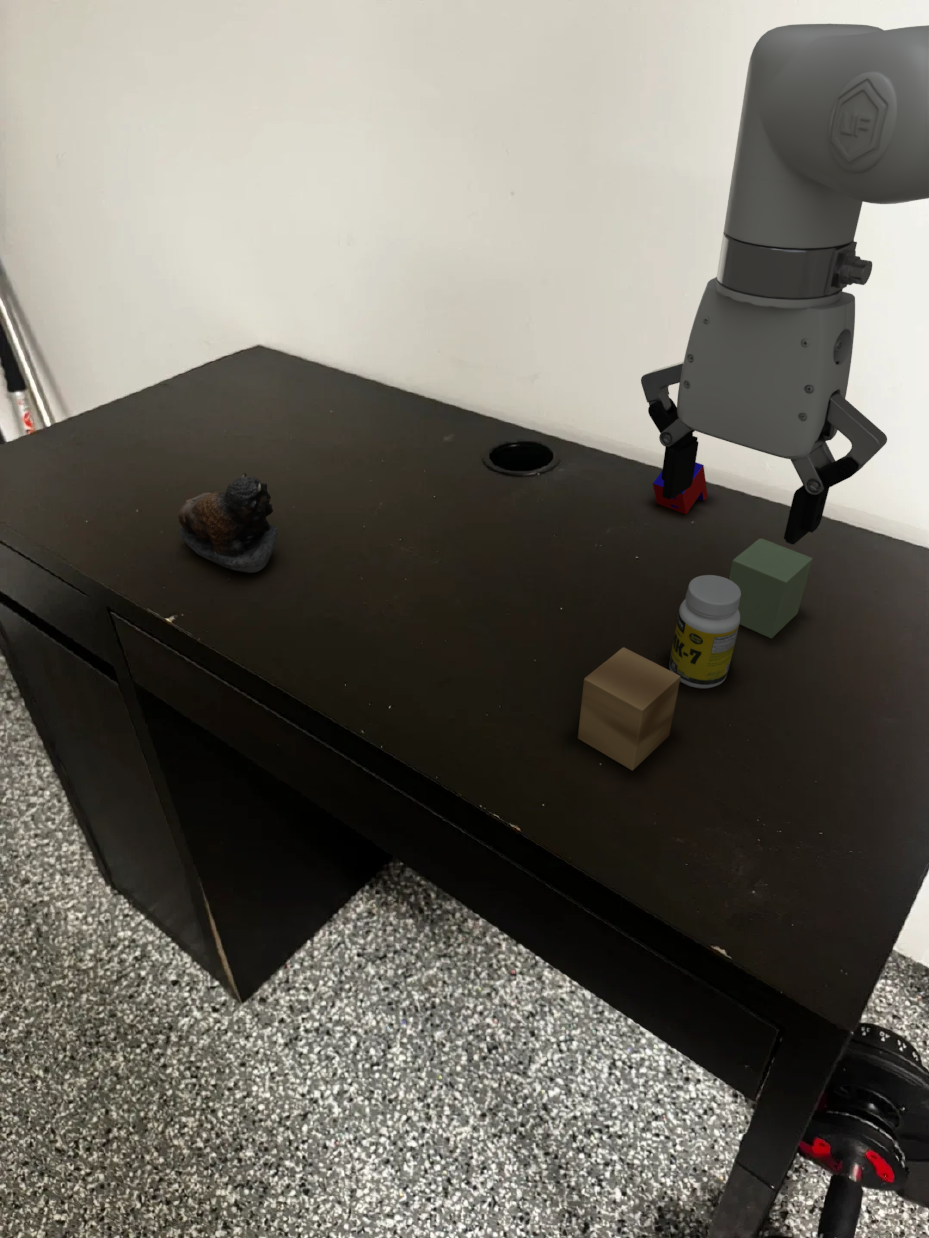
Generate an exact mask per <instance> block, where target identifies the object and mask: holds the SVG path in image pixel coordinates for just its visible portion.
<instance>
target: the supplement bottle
mask: <svg viewBox="0 0 929 1238" xmlns="http://www.w3.org/2000/svg"><path fill="white" fill-rule="evenodd" d="M687 586H688V587H687V590H686V593H685V598H684V600H683V601H682V602H681V603H680V605H679V609H678V612H677V617H676V624H675V629H674V635H673V640H672V645H671V652H670V657H669V663H668V666H669V667H668V668H669V670H670V671H672V672H674V673H676V674H678V675H679V676H680V682H679V683H682V684H684V685H686V686H688V687H690V688H694V689H695V688H696V689H711V688H715V687H717V686H719V685H721V684H722V683H723V682H725V680H726V679H727V675H728V673H729V670H730V664H731V661H732V657H733V653H734V649H735V644H736V640H737V635H738V631H739V628H740V613H739V610H738V607H739V602H740V597H741V591H740V588H739V587H738V586H737V585H736V584H735V583H734V582H733V581H731V580H729V578H727V577H724V576H720V575H716V574H715V575H714V574H703V575H699V576H696V577H694V578H693V579H691V580H690V582H689V584H688V585H687Z"/></svg>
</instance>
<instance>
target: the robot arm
mask: <svg viewBox="0 0 929 1238" xmlns="http://www.w3.org/2000/svg"><path fill="white" fill-rule="evenodd" d="M729 185H730V186H729V191H728V200H727V206H726V213H725V220H724V227H723V232H722V239H721V244H720V252H719V258H718V266H717V272H716V276H715V277H713V278H711V279H709V280H708V281H707V283H706V286H705V288H704V291H703V293H702V295H701V299H700V301H699V304H698V307H697V310H696V313H695V316H694V320H693V323H692V326H691V330H690V334H689V337H688V341H687V345H686V349H685V354H684V357H683V361H681V362H676V363H674V364H670V365H666V366H664V367H660V368H655V369H653V370H651V371H649V372H647V373H645V374H643V375H642V376H641V378H640V383H641V388H642V390H643V394H644V397H645V400H646V403H647V404H648V407H647V412H648V415H649V417H650V419H651V420H652V422H653V424H654V425H655V427H656V429H657V430H658V431H659V433H660V434H659V436H658V438H659V442H660V444H661V445H662V446H663V447H664V455H663V463H662V470H661V471H662V480H664V486H663V493H662V496H663V497H664V498H666V499H669V500H670V499H671V498H672V499H673V498H675V497H676V496H678V495H679V494H681V493H682V492H684V491H685V490H687V489H688V488H690V487H691V485H692V482H693V476H694V469H695V463H697V456H698V449H699V441H698V440H699V439H698V436H695V435H694V433H695V432H698V433H700V434H703V435H706V436H710V437H713V438H716V439H719V440H723V441H724V442H729V443H732V444H733V445H734V444H735V445H738V446H741V447H744V448H747V449H750V450H754V451H757V452H761V453H764V454H767V455H771V456H774V457H778V458H781V459H786V460H790V462H791V464H792V465H793V468H794V470H795V472H796V473H797V476H798V477H799V479H800V482H801V483H802V485H801V486H800V487H798V488H797V489H796V490H795V491H794V493H793V496H792V501H791V505H790V509H789V513H788V518H787V522H786V527H785V531H784V535H783V540H785V543H787V544H790V545H792V546H794V545H795V544H797V543H798V542H799V541H800V540H801V539H803V538H804V537H805V536H806V535H807V534H809V533H814V532H815V531H817V529H818V528H819V526H820V524H821V522H822V517H823V515H824V510H825V507H826V502H827V500H828V499H827V498H828V495H829V491H830V488H832V487H834V486H836V485H838V484H840V483H842V482H844V481H845V480H848V479H850V478H852V477H853V476H854V475H855V474H856V473H858V472H859V471H860V470H861V469H863V467H864V466H865V465H866V464H867V463H868V462H869V461H871V459H873V457H874V456H876V455H877V453H879V452H880V450H881V449H882V448H883V447H884V446H885V445H886V444H887V443H888V437H887V435H886V433H885V432H883V430H881V429H880V428H879V427H878V426H877V425H875V424H874V423H873V422H872V421H871V420H870V419H869V418H867V416H866V415H864V414H863V413H862V412H861V411H860V410H858V409H857V408H856V407H855V406H854V405H853V404H851V403H850V402H849V401H848V400H847V399H846V397H847V392H848V387H849V378H850V372H851V366H852V358H853V349H854V337H855V327H856V326H855V324H856V296H855V295H854V294H853V293H849V292H846V291H843V290H844V289H845V288H847V286H852V285H853V284H854V285H860V286H865V285H866V284H867V283H868V281H869V279H870V276H871V274H872V270H873V261H872V260H867V259H862V258H861V257H860V256H859V255H856V254H857V253H856V252H857V251H856V249H857V244H858V241H855V236H856V232H857V229H858V223H859V220H860V215H861V210H862V206H863V203H868V204H874V205H894V204H895V205H897V204H904V203H909V202H915V201H921V200H927V199H929V25H928V24H927V25H915V26H905V27H898V28H891V29H885V30H884V29H882V28H880V27H878V26H873V25H867V24H856V23H855V24H853V23H852V24H851V23H800V24H797V23H796V24H787V25H781V26H776V27H774V28H771V29H770V30H767V31H766V32H764V33H763V35H761V36H760V38H759V39H758V40H757V42H756V43H755V44H754V47H753V49H752V51H751V55H750V58H749V62H748V66H747V72H746V78H745V86H744V94H743V99H742V106H741V114H740V120H739V126H738V132H737V140H736V146H735V154H734V161H733V167H732V173H731V179H730V184H729ZM676 384H678V390H677V391H678V392H677V398H676V399H677V400H676V401H677V402H676V404H675V402H674V401H673V399H672V398H671V397H670V396H669V395H670V391H669V387H670V386H672V385H676ZM838 432H839V433H840V434H841V435H843V436H844V438H846V439H847V440H849V442H850V444H851V447H850V450H849V451H848V452H847V454H845V455H844V456H842V457H840V458H839V459H837V460H836V459H835V457H834V456H833V453H832V451H831V449H830V447H829V445H828V443H827V442H828V441H832V439H834V438H835V436H836V435H837V433H838Z"/></svg>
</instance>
